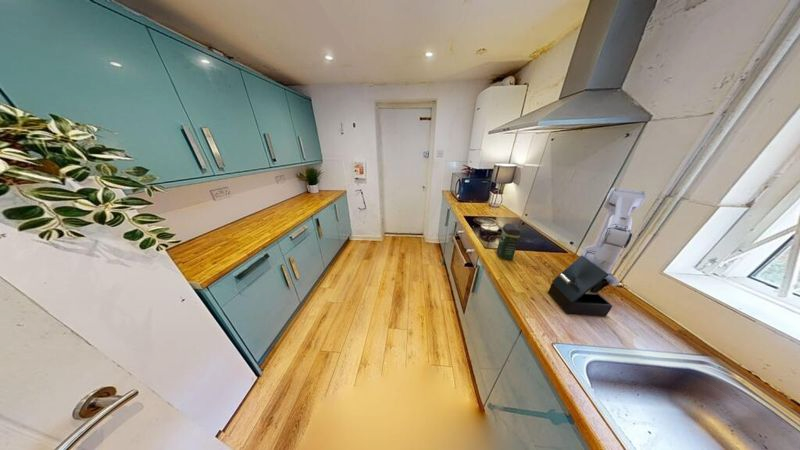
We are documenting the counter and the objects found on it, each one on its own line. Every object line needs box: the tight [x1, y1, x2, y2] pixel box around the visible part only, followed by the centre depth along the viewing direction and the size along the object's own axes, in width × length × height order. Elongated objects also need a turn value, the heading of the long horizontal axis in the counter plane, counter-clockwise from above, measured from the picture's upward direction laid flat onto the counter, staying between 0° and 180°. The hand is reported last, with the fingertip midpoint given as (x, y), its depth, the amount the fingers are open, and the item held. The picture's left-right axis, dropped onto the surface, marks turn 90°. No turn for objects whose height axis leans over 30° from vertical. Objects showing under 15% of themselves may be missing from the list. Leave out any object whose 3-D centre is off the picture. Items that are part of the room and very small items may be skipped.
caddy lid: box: [551, 254, 609, 303], centre depth 74 cm, size 15×11×5 cm
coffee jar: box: [496, 223, 522, 261], centre depth 107 cm, size 10×8×19 cm
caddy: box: [547, 282, 613, 318], centre depth 79 cm, size 14×11×6 cm
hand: (588, 287), depth 78 cm, fingers closed on scrap block, 4 cm apart
